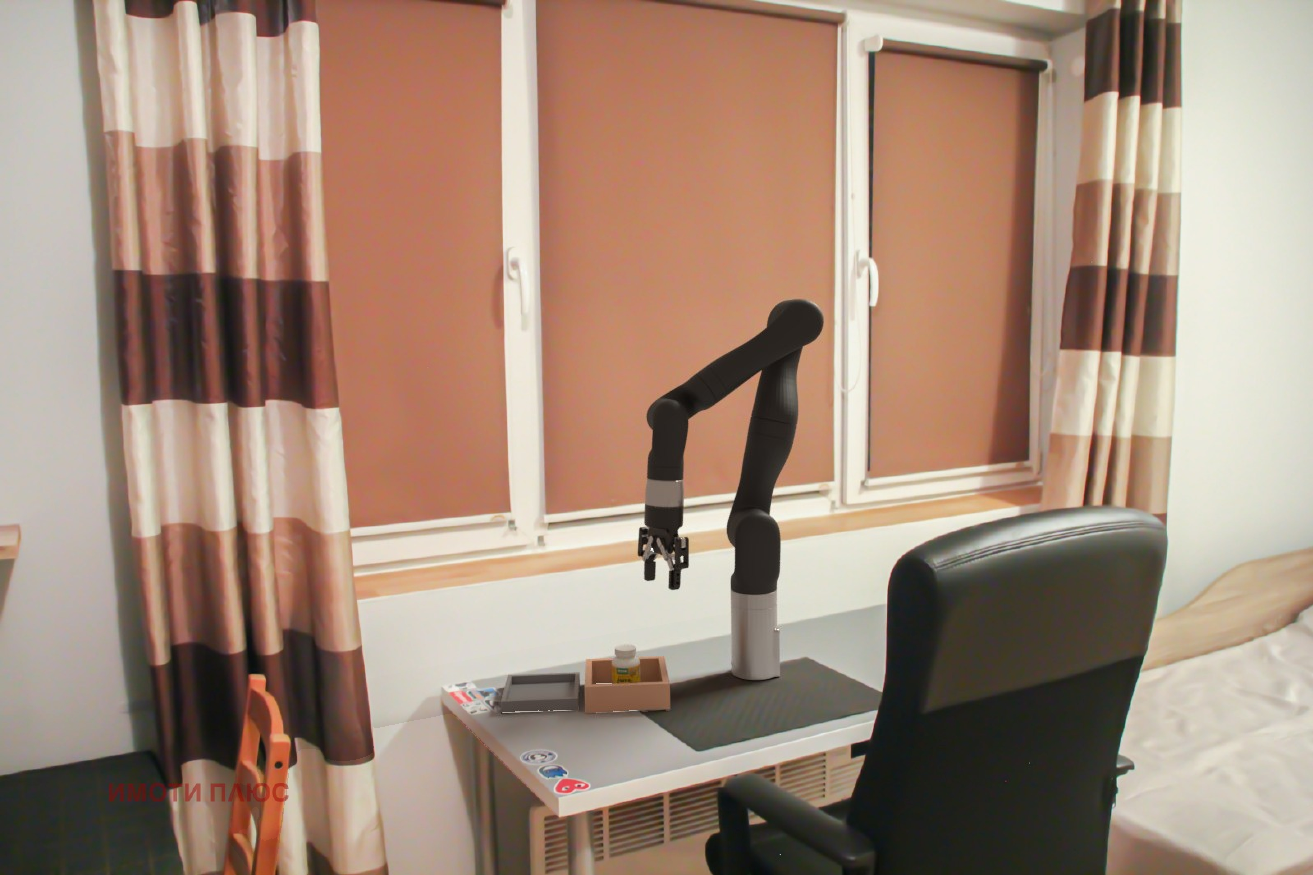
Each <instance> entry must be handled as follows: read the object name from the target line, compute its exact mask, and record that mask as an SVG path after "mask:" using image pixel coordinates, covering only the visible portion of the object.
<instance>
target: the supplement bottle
mask: <svg viewBox="0 0 1313 875" xmlns="http://www.w3.org/2000/svg"><path fill="white" fill-rule="evenodd" d="M614 655H615V657H613V658H614V659H613V660H612V684H615V683H640V682H641V677H640V660H639V658H638V656H636V655H637V646H636V645H634V644H630V643H629V644H627V643H625V644H619V645H616V646H615V647H614Z"/></svg>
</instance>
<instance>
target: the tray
mask: <svg viewBox="0 0 1313 875" xmlns="http://www.w3.org/2000/svg"><path fill="white" fill-rule="evenodd" d="M580 673H581V672H579V671H573V672H554V673H553V672H550V673H547V672H546V673H528V674H527V673H526V674H508V675H507V677H506V681H505V685H504V688H503V692H502V696H501V700H500V713H501V712H515V711H538V710H539V711H548V710H550V711H553V710H578V711H579V709H578V707H580V706H579V705H580V692H579V690H580V689H581V674H580ZM580 691H581V690H580Z"/></svg>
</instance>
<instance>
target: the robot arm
mask: <svg viewBox="0 0 1313 875" xmlns="http://www.w3.org/2000/svg"><path fill="white" fill-rule="evenodd" d="M824 323H825V321H824V315H823V311H822V309H821V308H820V307H819V305H818V304H816V303H815V302H814V301H811V300H808V299H806V298H805V299H804V298H794V299H787V300H786V299H785V300H783V301H781V302H779V303H777V304H776V305H775V306H774V307H773V308H772V309H771V311H770V313H769V315H768V317H767V322H766V327H765V328H764V329H763V330H761V331H760V332H758V334H756V335H755V336H754V337H752V338H750V339H749V340H748V341H746V342H745V343H743V344H741V345H739V346H737V347H735V348H734V349H732V350H730V351H729V352H726V353H725V354H723V355H721V356H719V357H717V358H716V359H715V360H713V361H712V362H710V363H709V364H707V365H705V367H702V369H700V370H699V371H697V372H696V373H695V374H693V375H692V376H691V377H690V378H689V379H688V380H686V381H685V382H683V383H682V384H680V385H677V386H676V387H675V388H673V389H671V390H670V391H668V392H666V393H665V394H663V395H661V396H660V397H658V398H657V399H655V400H654V401H653V402H652V403H651V404H650V406H648V409H647V412H646V423H647V425H648V427H649V428H650V429H651V430H652V434H651V436H652V438H651V450H650V451H649V452H648V456H647V468H646V484H645V489H644V490H645V492H644V495H645V496H644V516H643V517H644V518H643V520H644V521H643V524H644V526H640V527H639V528H638V538H637V539H638V540H637V541H638V543H637V556H638V557H641V558H642V561H643V562H644V564H643V565H644V566H643V569H644V570H643V579H644V580H645V581H646V582H652V581H655V579H656V572H657V570H656V566H657V565H656V564H657V563H656V562H657V561H656V559H657V558H658V555H660V556H662V558H663V560H664V561H666V563H667V566H668V568H669V570H668V590H671V591H675V590H677V591H678V590H679V589H680V587H681V582H682V581H681V580H682V575H681V574H682V570H684V569H689V566H690V564H689V562H690V555H689V554H690V552H689V551H690V545H689V544H690V540H689V537H688V536H679V529H681V528H682V527H683V526H684V507H685V506H684V504H685V503H684V502H685V487H684V469H685V468H684V467H685V462H684V459H685V457H684V456H685V450H686V445H687V440H688V439H687V438H688V433H689V420H690V419H691V418H692V417H693V418H694V416H696V415H697V414H699V413H700V412H703V411H707V410H708V409H711V408H712V407H714V406H715V405H717V404H718V403H719V402H720V401H722V400H724V399H725V398H726V397H727V396H729V395H730V394H732V393H733V392H734V391H735V390H737V389H738V388H740V387H741V386H742V385H744V383H746V382H747V381H749V380H751V378H753V377H754V376H756V375H757V374H758V373H760V376H759V379H758V383H757V388H756V392H755V397H754V403H753V407H752V410H751V416H750V419H749V425H748V429H747V437H746V442H745V447H744V452H743V456H742V462H741V464H742V465H741V472H740V477H739V481H738V487H737V490H736V493H735V496H734V499H733V502H732V506H731V509H730V513H729V515H728V519H727V522H726V535H727V539H728V541H729V543H730V544H731V546H733V548H734V570H733V573H732V574H731V576H730V639H731V640H730V643H731V644H730V647H731V648H730V649H731V651H730V652H731V653H730V654H731V662H730V663H731V674H732V675H733V676H734V677H736V678H739V679H742V680H749V681H763V680H768V679H769V680H770V679H772V678H775V677H781V658H780V657H781V653H780V652H781V650H780V648H781V647H780V646H781V645H780V642H781V641H780V640H781V639H780V628H779V627H778V580H779V577H780V574H781V551H782V549H781V547H782V546H781V545H782V543H781V531H780V527H779V525H778V522H777V521H776V519H775V518H773V517H772V516H771V508H772V507H771V505H772V500H773V495H774V494H773V492H774V489H775V487H776V484H777V481H778V478H779V476H780V474H781V472H782V470H783V469H784V466H785V465H786V463H787V461H788V458H789V456H790V454H791V451H792V448H793V444H794V439H795V436H796V431H797V425H798V419H799V397H798V396H799V395H798V381H797V378H798V377H797V375H798V368H799V363H800V361H801V360H800V359H801V355H802V351H803V349H804V347H805V346H807V345H810V344H811V343H813V342H814V341H816V340H817V339H818V338H819V336H820V334H821V333H822V331H823V329H824ZM644 546H645V547H644ZM681 557H682V559H681ZM682 560H683V561H682ZM673 561H674V562H673Z"/></svg>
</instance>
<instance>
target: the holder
mask: <svg viewBox="0 0 1313 875" xmlns="http://www.w3.org/2000/svg"><path fill="white" fill-rule="evenodd" d="M637 657H638V656H637ZM614 658H615V657H609V658H607V657H606V658H602V657H601V658H586V659H585V669H584V670H585V671H584V672H585V673H584V709H585V710H584V711H585V713H595V714H597V713H596V712H613V711H629V710H646V709H670V710H671V683H670V677H669V674H668V668H667V662H666V659H665V658H666V657H665V656H664V655H661V656H660V655H658V656H657V655H656V656H654V655H653V656H639V657H638V658H639V660H640V677H641V682H640V683H615V684H596V683H612V660H613V659H614ZM585 713H584V714H585Z"/></svg>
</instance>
